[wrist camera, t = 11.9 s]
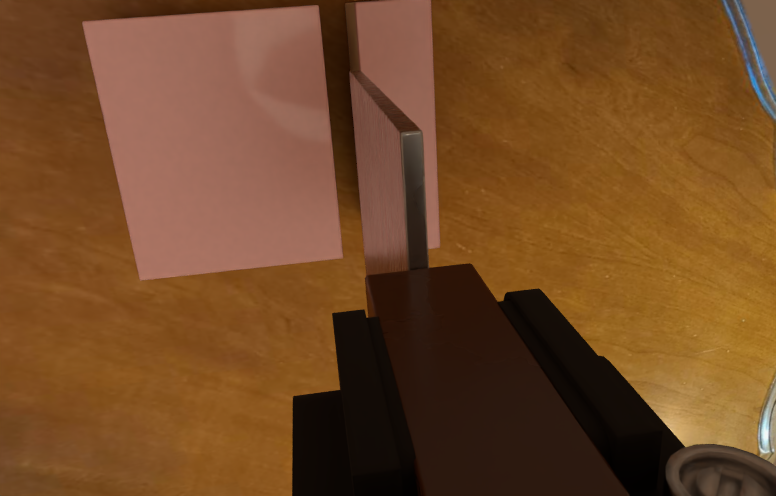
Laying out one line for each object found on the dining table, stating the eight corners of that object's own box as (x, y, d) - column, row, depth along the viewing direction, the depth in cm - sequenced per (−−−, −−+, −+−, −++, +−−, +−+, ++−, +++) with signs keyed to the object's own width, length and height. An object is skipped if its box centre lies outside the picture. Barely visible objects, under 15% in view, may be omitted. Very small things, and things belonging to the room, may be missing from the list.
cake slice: (344, 3, 34) (355, 2, 28) (407, -2, 34) (431, -3, 28) (362, 215, 38) (374, 255, 32) (417, 209, 39) (440, 248, 33)
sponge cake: (121, 18, 33) (81, 21, 27) (314, 5, 34) (318, 4, 28) (165, 236, 37) (139, 281, 31) (335, 218, 38) (343, 258, 32)
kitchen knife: (324, 72, 21) (441, 339, 4) (385, 68, 21) (728, 305, 4) (346, 293, 24) (466, 974, 7) (399, 287, 24) (638, 935, 7)
